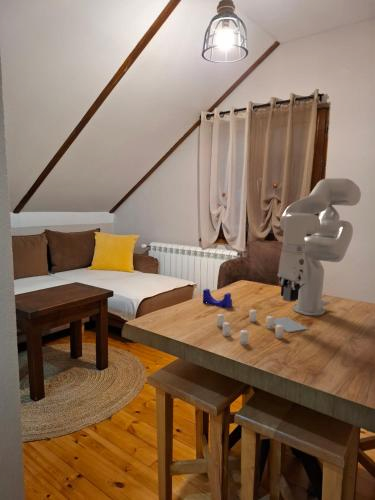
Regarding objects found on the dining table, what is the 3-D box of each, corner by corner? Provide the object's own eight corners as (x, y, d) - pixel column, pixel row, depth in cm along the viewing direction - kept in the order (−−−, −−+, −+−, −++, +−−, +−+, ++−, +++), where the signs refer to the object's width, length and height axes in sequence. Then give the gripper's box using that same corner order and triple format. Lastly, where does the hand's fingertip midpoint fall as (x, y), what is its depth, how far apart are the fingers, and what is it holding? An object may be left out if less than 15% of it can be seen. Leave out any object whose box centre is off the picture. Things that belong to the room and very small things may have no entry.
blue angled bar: (231, 306, 150) (232, 292, 149) (227, 308, 146) (227, 295, 145) (208, 300, 156) (208, 287, 155) (202, 303, 152) (203, 290, 151)
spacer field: (257, 318, 135) (258, 308, 134) (289, 337, 118) (290, 326, 117) (210, 325, 127) (211, 314, 126) (237, 346, 110) (237, 334, 109)
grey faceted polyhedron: (290, 297, 130) (291, 284, 129) (298, 300, 126) (299, 287, 125) (279, 298, 128) (280, 285, 127) (287, 302, 124) (288, 288, 123)
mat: (286, 318, 136) (286, 317, 136) (308, 329, 125) (308, 328, 125) (267, 320, 132) (267, 319, 132) (288, 332, 122) (288, 331, 121)
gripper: (318, 252, 118) (313, 303, 121) (286, 245, 133) (282, 291, 136) (301, 252, 115) (296, 305, 118) (270, 245, 130) (266, 292, 133)
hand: (289, 297), depth 127 cm, fingers closed on grey faceted polyhedron, 4 cm apart
